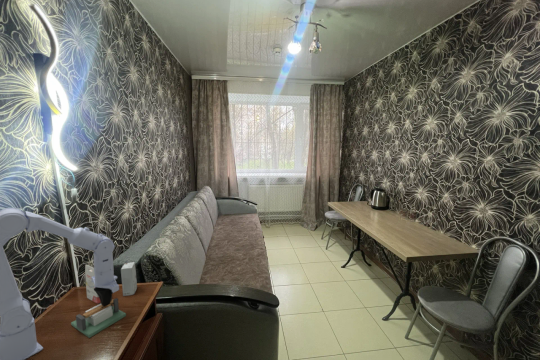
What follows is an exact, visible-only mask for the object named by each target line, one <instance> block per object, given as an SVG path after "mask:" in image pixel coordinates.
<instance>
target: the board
mask: <svg viewBox="0 0 540 360" xmlns="http://www.w3.org/2000/svg"><path fill="white" fill-rule="evenodd" d="M112 299H113V296H112V297H111V300H112ZM100 305H102V304H101V303H98V304H97V305H95V306H93V307H91V308H90V309H87V310H85V312H84V313H86V312H88V311H90V310H92V309H94V308H96V307H98V306H100ZM125 317H127V313H126V312H124V311H122V310H120V308H119V299H118V298H117V297H116V298H114V300H113V305H111V306H109V307H107V308H105V309H103V310H101V311H99V312H97V313H95V314H93V315H91V316H89V317H88V318H85V317H83V314H82V315H81V314H80V313H78V314H76V316H75V320H73V321H71V322H70V324H71V326H72V327H73V328H74V329H75V330H77V331H79V332H80V333H82V334H83V335H84V336H86V338H88V339H89V338H92V337H93V336H95V335H97V334H98V333H100V332H101V331H104V330H106V329H107V328H108V327H109V326H111V325H113V324H115V323H117V322H118V321H120V320H122V319H123V318H125Z"/></svg>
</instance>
